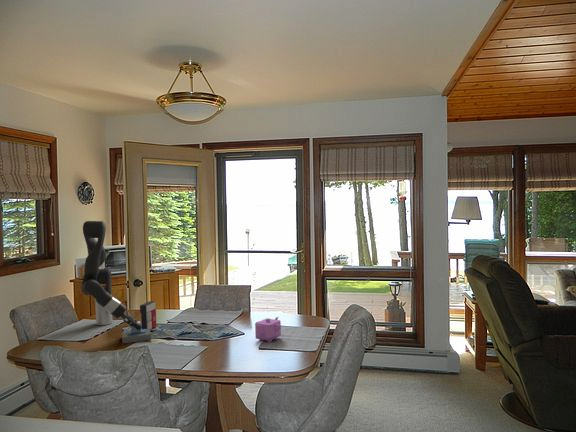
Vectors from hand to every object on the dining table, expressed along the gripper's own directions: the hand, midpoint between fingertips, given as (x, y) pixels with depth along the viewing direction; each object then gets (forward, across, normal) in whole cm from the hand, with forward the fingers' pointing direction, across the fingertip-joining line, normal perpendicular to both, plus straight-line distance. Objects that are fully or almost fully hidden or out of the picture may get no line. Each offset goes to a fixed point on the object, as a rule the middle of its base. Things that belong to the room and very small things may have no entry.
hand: (139, 327), depth 239 cm
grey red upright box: (+8, +16, 0) cm, 18 cm away
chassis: (+3, 0, +5) cm, 6 cm away
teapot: (+48, -31, -40) cm, 70 cm away
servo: (+3, 0, +5) cm, 6 cm away
